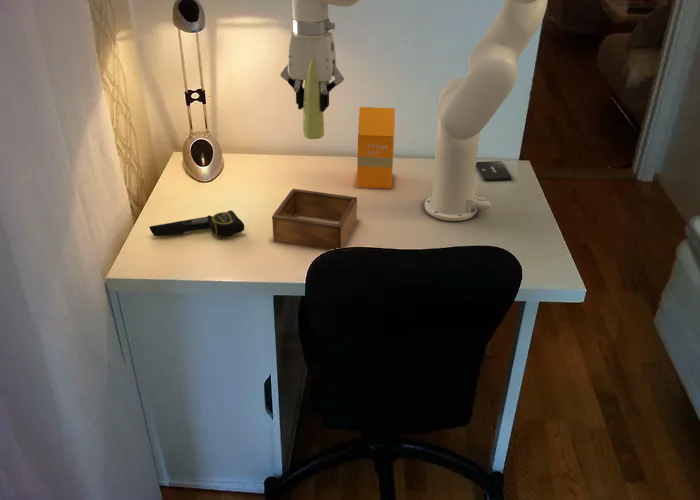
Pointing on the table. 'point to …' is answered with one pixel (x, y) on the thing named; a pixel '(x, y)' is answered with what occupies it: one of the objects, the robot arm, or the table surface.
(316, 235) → the wooden box
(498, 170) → the solid state drive
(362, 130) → the orange juice
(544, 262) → the table surface
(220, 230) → the tape measure
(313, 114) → the bamboo shoot
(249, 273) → the table surface
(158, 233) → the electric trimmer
